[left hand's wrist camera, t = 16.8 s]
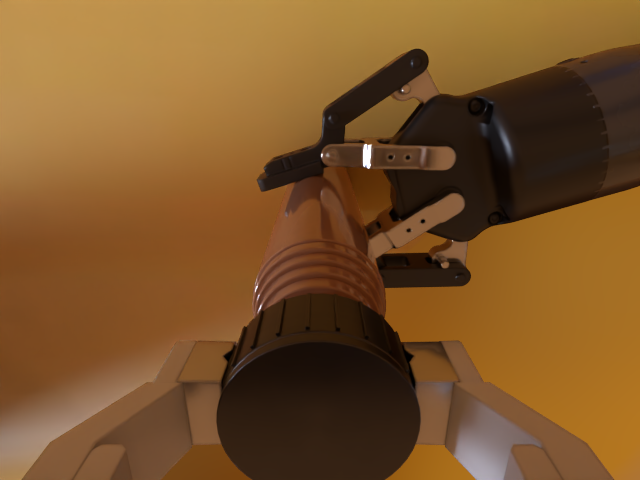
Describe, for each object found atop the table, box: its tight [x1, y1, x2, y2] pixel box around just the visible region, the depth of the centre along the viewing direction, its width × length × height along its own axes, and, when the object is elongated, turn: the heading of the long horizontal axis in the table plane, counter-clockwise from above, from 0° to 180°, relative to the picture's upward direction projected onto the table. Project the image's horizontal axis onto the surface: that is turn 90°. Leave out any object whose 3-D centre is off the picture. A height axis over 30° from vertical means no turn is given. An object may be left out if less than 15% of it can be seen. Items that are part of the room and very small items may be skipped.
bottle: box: [252, 167, 386, 318], centre depth 19 cm, size 4×4×22 cm
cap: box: [216, 293, 421, 480], centre depth 9 cm, size 4×4×2 cm
